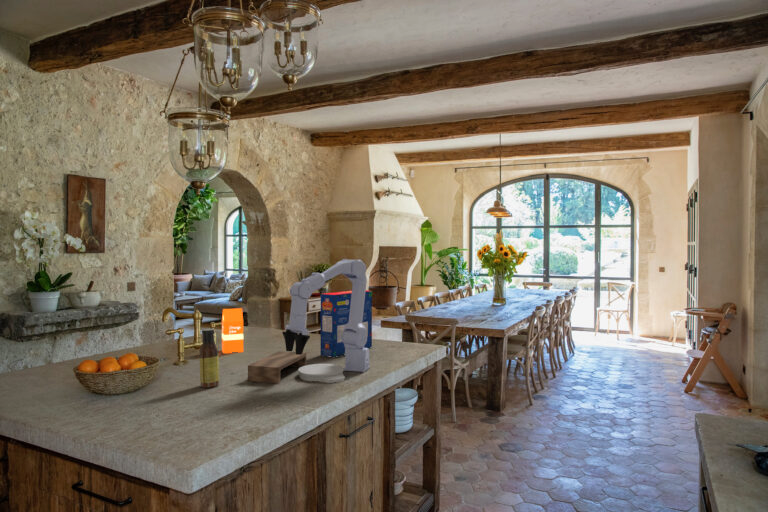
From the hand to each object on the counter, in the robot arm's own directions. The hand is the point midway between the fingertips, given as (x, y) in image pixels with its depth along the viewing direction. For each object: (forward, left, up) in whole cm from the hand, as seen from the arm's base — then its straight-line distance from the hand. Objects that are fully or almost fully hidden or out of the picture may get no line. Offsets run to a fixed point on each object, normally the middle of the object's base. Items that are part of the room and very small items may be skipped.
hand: (293, 352), depth 181 cm
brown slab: (+10, -10, -11) cm, 18 cm away
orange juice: (+49, -43, -11) cm, 66 cm away
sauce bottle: (+26, +12, -11) cm, 31 cm away
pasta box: (-3, -56, -11) cm, 57 cm away
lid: (-8, -10, -11) cm, 17 cm away
